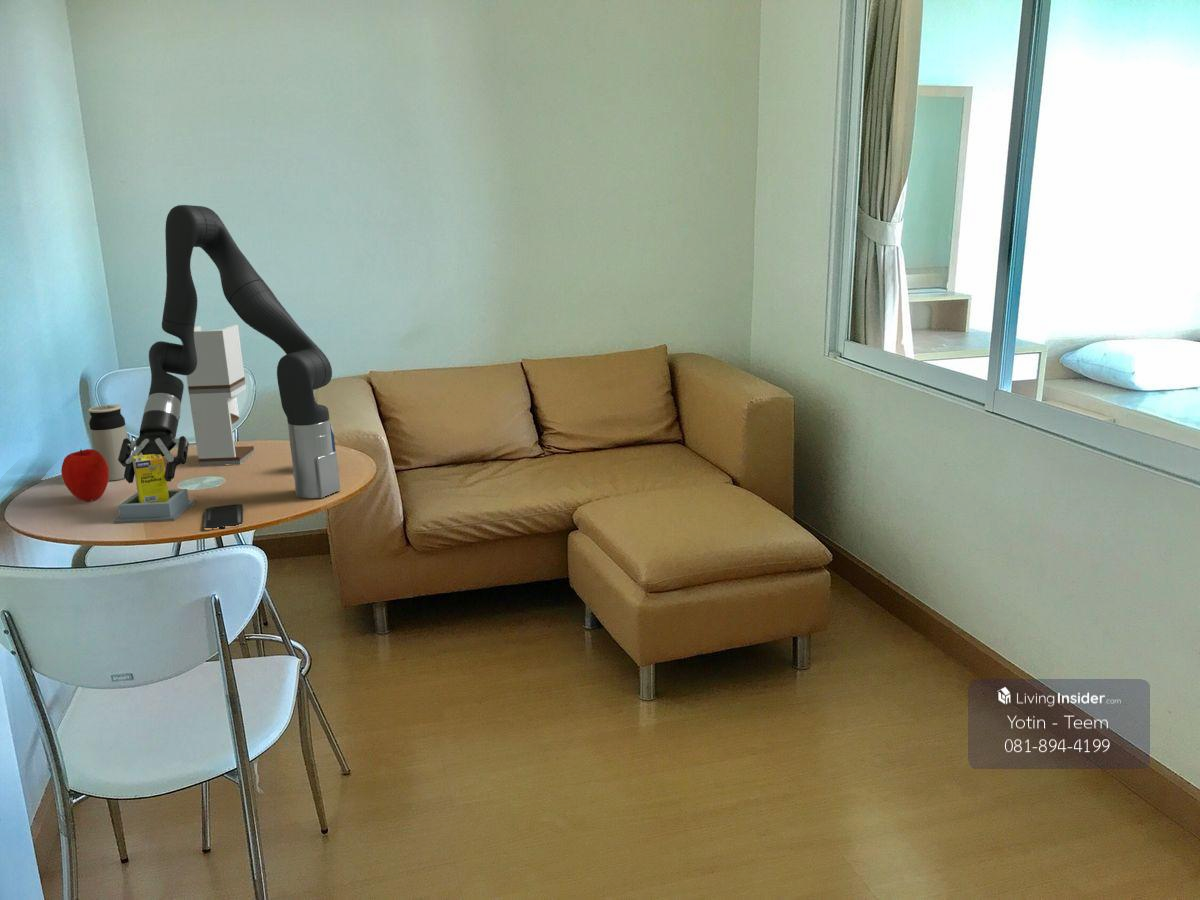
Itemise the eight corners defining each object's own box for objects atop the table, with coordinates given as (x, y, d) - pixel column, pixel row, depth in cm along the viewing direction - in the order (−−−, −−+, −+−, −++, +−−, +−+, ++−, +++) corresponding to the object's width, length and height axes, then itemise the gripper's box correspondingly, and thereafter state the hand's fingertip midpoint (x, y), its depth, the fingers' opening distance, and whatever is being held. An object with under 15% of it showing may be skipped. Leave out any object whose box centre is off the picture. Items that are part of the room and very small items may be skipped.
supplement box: (170, 505, 219) (163, 457, 216) (141, 510, 216) (133, 462, 214) (167, 498, 224) (160, 451, 221) (139, 503, 222) (131, 456, 219)
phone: (242, 503, 223) (242, 522, 209) (243, 508, 223) (243, 527, 209) (204, 508, 220) (202, 528, 207) (205, 512, 221) (203, 533, 207)
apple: (82, 493, 238) (73, 443, 235) (121, 492, 237) (113, 443, 234) (57, 506, 228) (48, 454, 225) (99, 505, 228) (90, 454, 224)
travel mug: (116, 482, 246) (105, 411, 241) (91, 480, 248) (79, 410, 243) (140, 473, 253) (129, 404, 248) (115, 472, 255) (104, 403, 251)
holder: (195, 502, 227) (193, 487, 226) (174, 520, 215) (171, 504, 214) (138, 504, 227) (136, 489, 226) (113, 523, 214) (110, 507, 213)
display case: (240, 464, 258) (222, 330, 249) (199, 466, 258) (180, 332, 249) (254, 453, 269) (237, 324, 260) (215, 454, 269) (197, 326, 260)
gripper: (122, 410, 222) (108, 474, 214) (186, 407, 222) (174, 471, 214) (136, 427, 229) (122, 490, 221) (198, 424, 229) (187, 487, 221)
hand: (148, 480), depth 217 cm, fingers closed on supplement box, 8 cm apart
